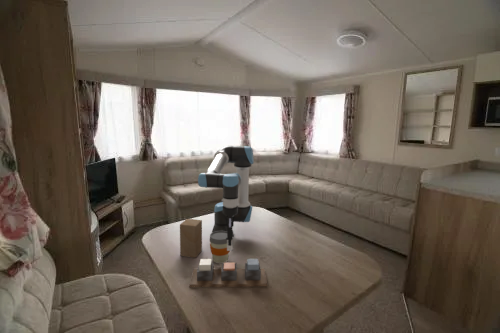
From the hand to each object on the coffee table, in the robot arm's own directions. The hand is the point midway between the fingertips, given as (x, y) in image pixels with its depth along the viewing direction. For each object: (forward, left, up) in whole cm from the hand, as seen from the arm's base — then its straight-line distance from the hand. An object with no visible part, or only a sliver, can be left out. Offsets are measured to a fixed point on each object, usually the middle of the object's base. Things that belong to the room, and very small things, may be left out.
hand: (229, 250), depth 127 cm
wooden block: (-11, -33, -16) cm, 38 cm away
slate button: (-6, +11, -11) cm, 16 cm away
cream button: (+6, -10, -11) cm, 16 cm away
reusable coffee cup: (-14, -14, -16) cm, 25 cm away
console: (0, 0, -16) cm, 16 cm away
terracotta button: (0, 0, -13) cm, 13 cm away
